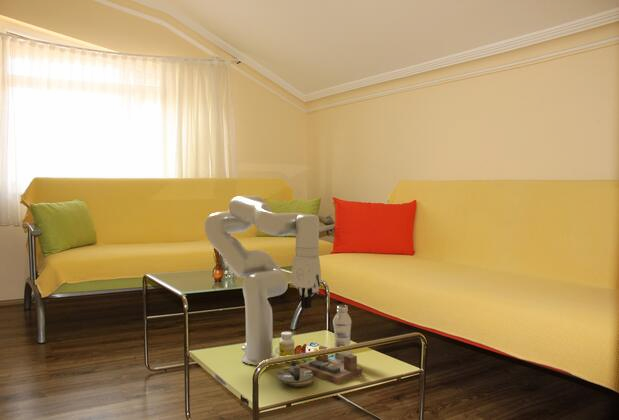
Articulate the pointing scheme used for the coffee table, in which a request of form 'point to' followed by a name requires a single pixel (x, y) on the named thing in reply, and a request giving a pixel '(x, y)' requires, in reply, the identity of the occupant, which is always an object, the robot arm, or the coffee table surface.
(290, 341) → the supplement bottle
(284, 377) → the capstan
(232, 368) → the coffee table surface
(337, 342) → the plastic bottle
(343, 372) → the stand
